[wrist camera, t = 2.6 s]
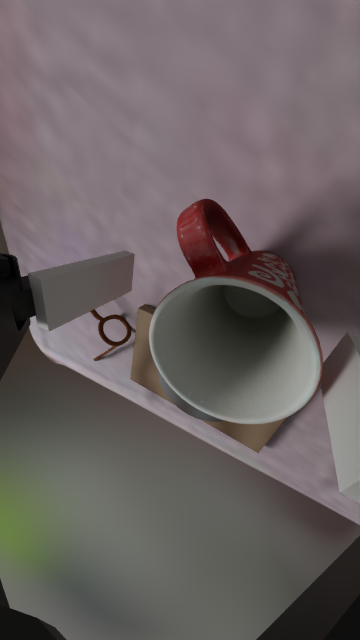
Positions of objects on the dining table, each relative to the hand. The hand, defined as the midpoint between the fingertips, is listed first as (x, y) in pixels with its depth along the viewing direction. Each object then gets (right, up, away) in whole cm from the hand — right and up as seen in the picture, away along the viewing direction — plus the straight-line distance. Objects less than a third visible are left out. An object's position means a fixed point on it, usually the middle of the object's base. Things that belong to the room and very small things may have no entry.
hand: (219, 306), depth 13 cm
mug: (+5, +4, +9) cm, 11 cm away
